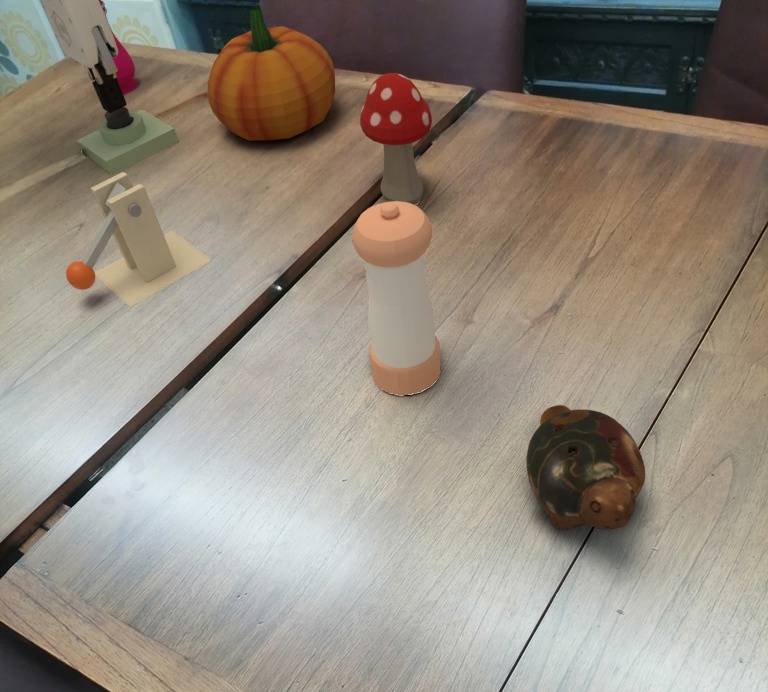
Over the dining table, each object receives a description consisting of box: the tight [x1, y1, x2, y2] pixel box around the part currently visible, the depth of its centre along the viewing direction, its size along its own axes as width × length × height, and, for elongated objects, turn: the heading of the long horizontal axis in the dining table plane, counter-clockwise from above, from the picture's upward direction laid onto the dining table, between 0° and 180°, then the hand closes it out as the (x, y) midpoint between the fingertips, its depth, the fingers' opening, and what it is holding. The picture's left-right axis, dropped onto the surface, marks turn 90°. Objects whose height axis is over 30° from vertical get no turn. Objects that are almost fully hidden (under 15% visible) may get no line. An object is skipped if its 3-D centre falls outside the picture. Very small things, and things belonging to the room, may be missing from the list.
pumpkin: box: [206, 5, 336, 142], centre depth 102 cm, size 19×19×15 cm
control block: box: [76, 108, 179, 176], centre depth 107 cm, size 12×10×4 cm
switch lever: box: [65, 183, 127, 291], centre depth 81 cm, size 13×3×3 cm
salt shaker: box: [351, 201, 442, 395], centre depth 66 cm, size 7×7×19 cm
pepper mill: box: [99, 0, 139, 95], centre depth 111 cm, size 7×7×20 cm
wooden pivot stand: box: [90, 171, 213, 308], centre depth 84 cm, size 12×10×12 cm
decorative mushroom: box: [359, 72, 433, 205], centre depth 87 cm, size 10×9×15 cm
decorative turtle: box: [526, 404, 646, 531], centre depth 60 cm, size 10×15×8 cm, turn 17°
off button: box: [104, 106, 132, 129], centre depth 105 cm, size 4×4×2 cm
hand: (115, 107), depth 104 cm, fingers closed
